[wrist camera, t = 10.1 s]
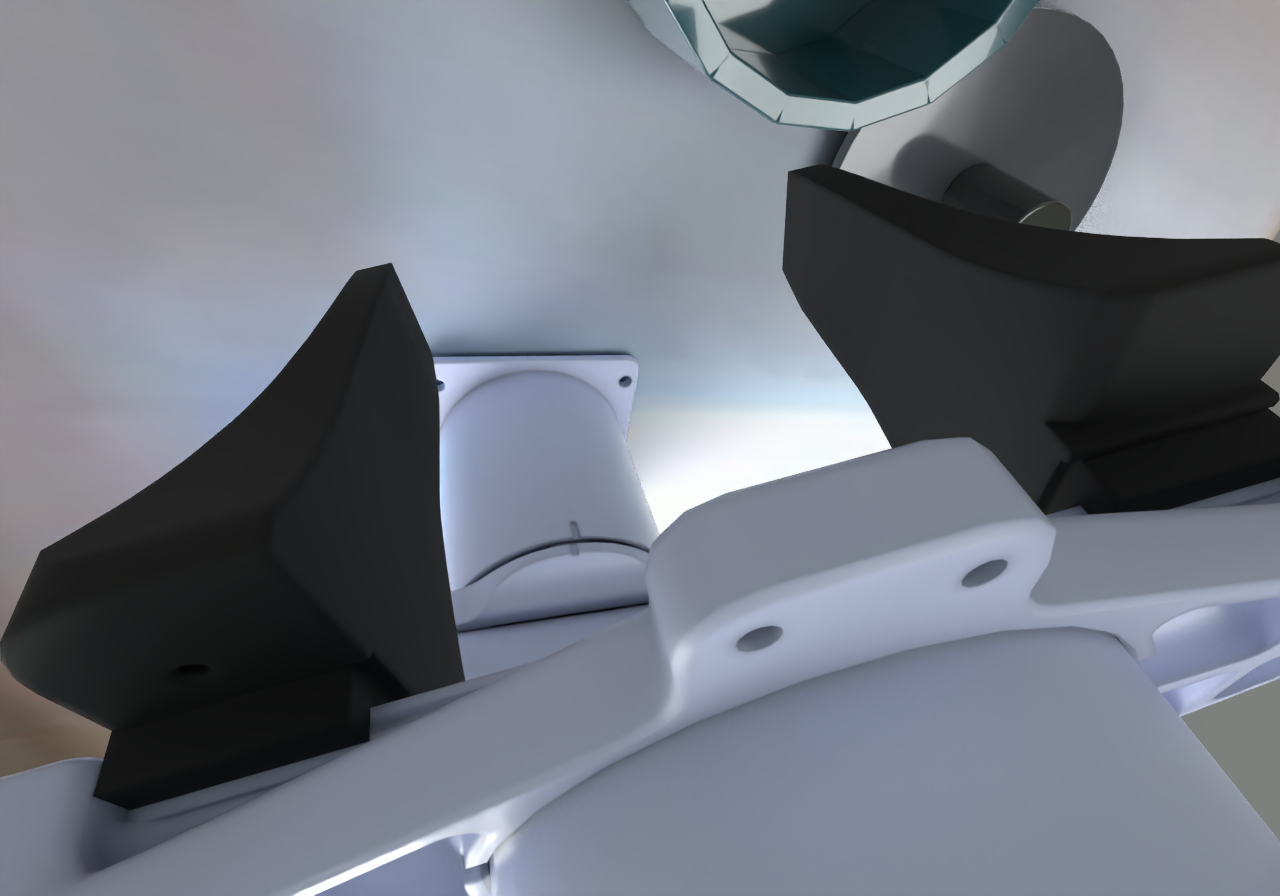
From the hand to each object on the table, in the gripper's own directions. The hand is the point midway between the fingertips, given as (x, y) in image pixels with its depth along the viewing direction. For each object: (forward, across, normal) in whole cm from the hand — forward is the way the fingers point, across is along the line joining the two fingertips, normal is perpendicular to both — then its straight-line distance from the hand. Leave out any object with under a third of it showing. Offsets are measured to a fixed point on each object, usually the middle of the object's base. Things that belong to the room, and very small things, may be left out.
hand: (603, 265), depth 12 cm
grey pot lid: (+9, -14, +6) cm, 18 cm away
